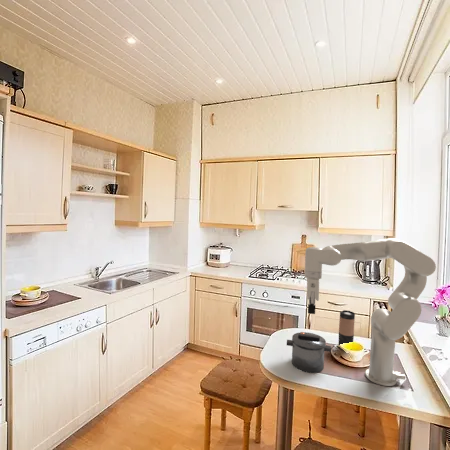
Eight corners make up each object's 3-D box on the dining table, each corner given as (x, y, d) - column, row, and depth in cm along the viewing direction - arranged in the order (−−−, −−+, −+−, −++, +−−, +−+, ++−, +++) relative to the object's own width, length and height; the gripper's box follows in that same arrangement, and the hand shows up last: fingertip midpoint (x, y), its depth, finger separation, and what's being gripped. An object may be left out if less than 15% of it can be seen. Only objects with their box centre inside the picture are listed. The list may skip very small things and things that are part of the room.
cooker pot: (328, 358, 151) (329, 337, 150) (330, 376, 135) (332, 353, 134) (287, 352, 157) (288, 332, 156) (284, 368, 141) (285, 346, 140)
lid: (324, 337, 151) (324, 331, 150) (326, 352, 135) (326, 345, 135) (293, 332, 155) (293, 326, 155) (291, 346, 139) (291, 340, 139)
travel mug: (354, 352, 159) (356, 315, 157) (339, 350, 160) (341, 314, 159) (351, 345, 166) (353, 310, 165) (336, 344, 168) (338, 309, 166)
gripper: (322, 278, 129) (320, 320, 130) (320, 271, 144) (319, 308, 145) (304, 277, 131) (303, 318, 132) (304, 270, 145) (303, 307, 147)
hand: (311, 313), depth 138 cm, fingers closed
